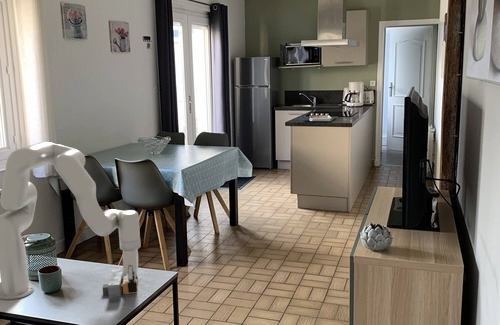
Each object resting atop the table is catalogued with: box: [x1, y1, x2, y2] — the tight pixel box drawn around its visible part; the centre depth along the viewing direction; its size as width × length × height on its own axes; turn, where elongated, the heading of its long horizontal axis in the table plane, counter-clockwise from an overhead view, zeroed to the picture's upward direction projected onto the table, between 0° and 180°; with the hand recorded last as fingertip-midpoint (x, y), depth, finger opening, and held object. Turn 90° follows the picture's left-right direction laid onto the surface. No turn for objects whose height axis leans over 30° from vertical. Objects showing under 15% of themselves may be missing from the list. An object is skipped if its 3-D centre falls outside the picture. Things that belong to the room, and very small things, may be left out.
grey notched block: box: [107, 267, 125, 303], centre depth 189 cm, size 4×16×6 cm, turn 9°
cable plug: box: [102, 278, 139, 296], centre depth 190 cm, size 12×4×4 cm, turn 99°
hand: (133, 288), depth 190 cm, fingers closed on cable plug, 4 cm apart
